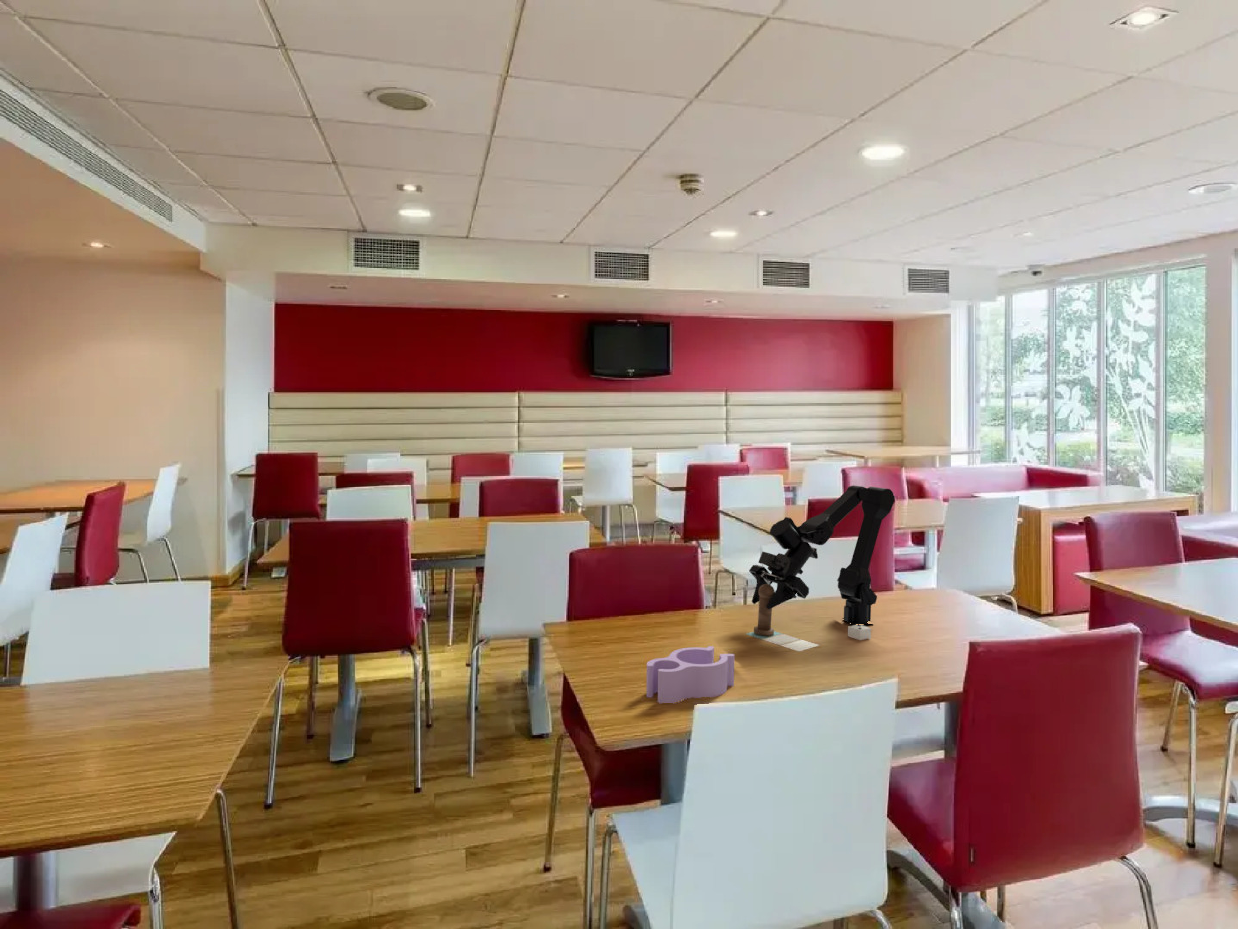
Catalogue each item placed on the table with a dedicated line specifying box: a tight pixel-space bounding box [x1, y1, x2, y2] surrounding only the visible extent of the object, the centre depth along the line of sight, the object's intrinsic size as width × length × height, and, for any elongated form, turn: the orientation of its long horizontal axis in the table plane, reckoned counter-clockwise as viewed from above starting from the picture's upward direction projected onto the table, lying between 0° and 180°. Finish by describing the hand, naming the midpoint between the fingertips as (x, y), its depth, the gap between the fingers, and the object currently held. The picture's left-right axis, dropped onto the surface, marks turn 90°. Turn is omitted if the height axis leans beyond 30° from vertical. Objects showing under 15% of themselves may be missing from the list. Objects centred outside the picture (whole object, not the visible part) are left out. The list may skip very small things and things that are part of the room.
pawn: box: [753, 584, 776, 637], centre depth 195 cm, size 5×5×13 cm
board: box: [746, 630, 820, 652], centre depth 191 cm, size 19×9×1 cm, turn 38°
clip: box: [645, 645, 735, 704], centre depth 160 cm, size 20×12×7 cm, turn 126°
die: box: [847, 624, 872, 641], centre depth 194 cm, size 4×4×4 cm
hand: (760, 605), depth 195 cm, fingers open, 6 cm apart
